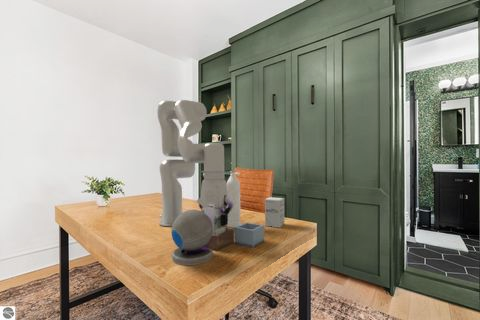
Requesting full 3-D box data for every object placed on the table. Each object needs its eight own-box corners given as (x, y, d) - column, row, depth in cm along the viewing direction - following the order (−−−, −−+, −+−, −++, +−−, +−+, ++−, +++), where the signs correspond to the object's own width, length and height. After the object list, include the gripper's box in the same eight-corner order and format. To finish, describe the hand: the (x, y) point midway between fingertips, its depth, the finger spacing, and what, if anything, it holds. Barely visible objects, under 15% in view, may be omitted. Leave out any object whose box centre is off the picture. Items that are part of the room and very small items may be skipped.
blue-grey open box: (234, 243, 87) (234, 227, 87) (246, 237, 93) (246, 222, 93) (253, 247, 82) (253, 230, 82) (264, 241, 89) (263, 225, 89)
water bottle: (236, 228, 106) (235, 173, 106) (224, 226, 109) (223, 173, 109) (245, 223, 113) (244, 172, 113) (233, 222, 116) (233, 172, 116)
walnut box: (196, 245, 85) (195, 231, 85) (213, 237, 94) (213, 225, 94) (217, 250, 80) (216, 236, 80) (233, 242, 88) (233, 228, 88)
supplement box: (264, 226, 109) (264, 199, 109) (270, 222, 115) (270, 196, 115) (279, 228, 105) (279, 200, 105) (285, 224, 112) (284, 197, 112)
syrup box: (215, 237, 91) (214, 200, 91) (226, 240, 87) (225, 201, 87) (204, 241, 87) (202, 202, 87) (215, 245, 83) (213, 204, 83)
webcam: (220, 256, 76) (220, 209, 76) (186, 269, 66) (185, 216, 66) (197, 246, 85) (196, 204, 85) (164, 256, 75) (163, 210, 76)
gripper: (190, 176, 88) (190, 222, 88) (226, 177, 79) (227, 229, 79) (203, 175, 95) (204, 218, 95) (239, 176, 85) (240, 224, 85)
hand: (214, 223), depth 87 cm, fingers open, 8 cm apart
